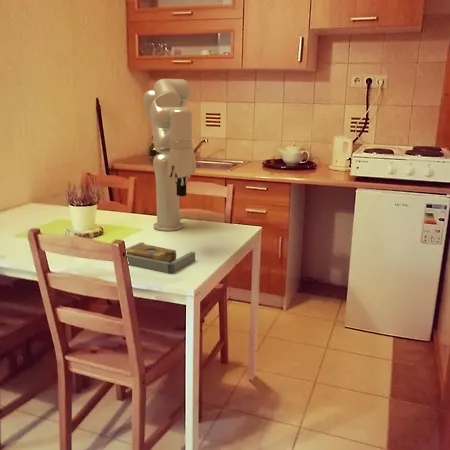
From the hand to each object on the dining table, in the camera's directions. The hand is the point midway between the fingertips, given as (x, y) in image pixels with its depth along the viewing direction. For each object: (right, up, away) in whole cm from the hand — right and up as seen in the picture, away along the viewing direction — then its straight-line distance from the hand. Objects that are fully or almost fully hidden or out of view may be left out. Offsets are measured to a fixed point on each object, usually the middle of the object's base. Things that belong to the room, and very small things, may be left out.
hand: (181, 195), depth 177 cm
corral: (-8, -23, -10) cm, 26 cm away
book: (-10, -24, -9) cm, 27 cm away
